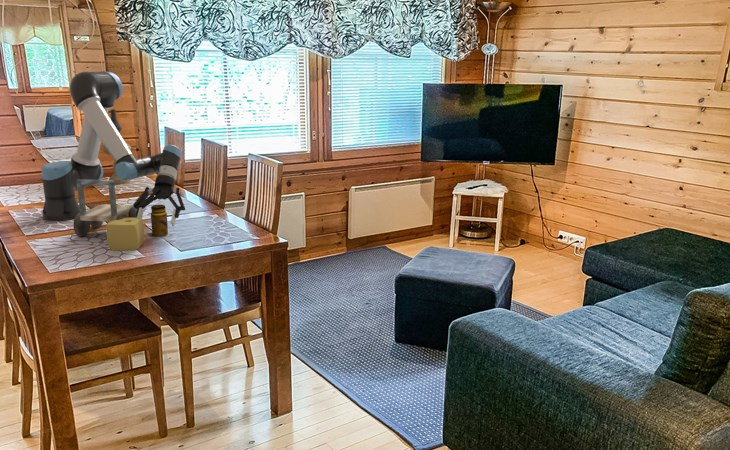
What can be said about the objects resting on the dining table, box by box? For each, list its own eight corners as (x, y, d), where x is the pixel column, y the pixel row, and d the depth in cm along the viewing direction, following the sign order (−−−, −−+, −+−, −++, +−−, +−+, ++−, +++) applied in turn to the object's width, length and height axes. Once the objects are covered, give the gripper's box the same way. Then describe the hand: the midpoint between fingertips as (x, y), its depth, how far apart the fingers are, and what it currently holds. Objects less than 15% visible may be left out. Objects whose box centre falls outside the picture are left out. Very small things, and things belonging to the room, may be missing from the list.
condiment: (171, 235, 228) (169, 206, 225) (149, 239, 223) (146, 209, 220) (166, 231, 234) (164, 202, 231) (144, 234, 229) (142, 205, 226)
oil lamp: (139, 182, 320) (133, 110, 309) (112, 186, 309) (105, 111, 298) (125, 178, 330) (119, 108, 319) (100, 182, 319) (92, 109, 308)
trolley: (75, 238, 221) (68, 180, 214) (100, 223, 241) (94, 170, 235) (121, 240, 221) (116, 182, 214) (142, 225, 241) (138, 171, 234)
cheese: (117, 242, 219) (114, 216, 216) (146, 242, 220) (144, 217, 217) (107, 250, 209) (105, 224, 206) (138, 250, 210) (135, 224, 207)
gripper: (132, 172, 232) (120, 218, 222) (193, 174, 232) (184, 220, 222) (138, 183, 239) (127, 227, 229) (198, 184, 239) (189, 229, 228)
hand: (155, 224), depth 225 cm, fingers open, 13 cm apart
